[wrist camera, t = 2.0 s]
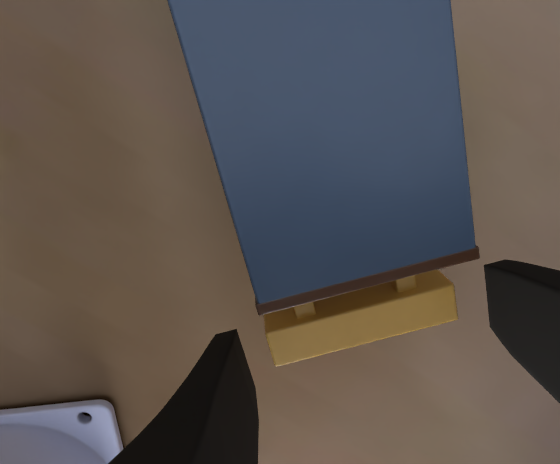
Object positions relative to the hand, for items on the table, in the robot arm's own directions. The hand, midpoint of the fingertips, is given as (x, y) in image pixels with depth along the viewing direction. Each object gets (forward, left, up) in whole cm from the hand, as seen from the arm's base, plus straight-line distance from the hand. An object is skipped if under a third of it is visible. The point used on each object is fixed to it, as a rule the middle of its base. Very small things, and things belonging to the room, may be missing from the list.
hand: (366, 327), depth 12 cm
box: (-1, +5, -4) cm, 6 cm away
